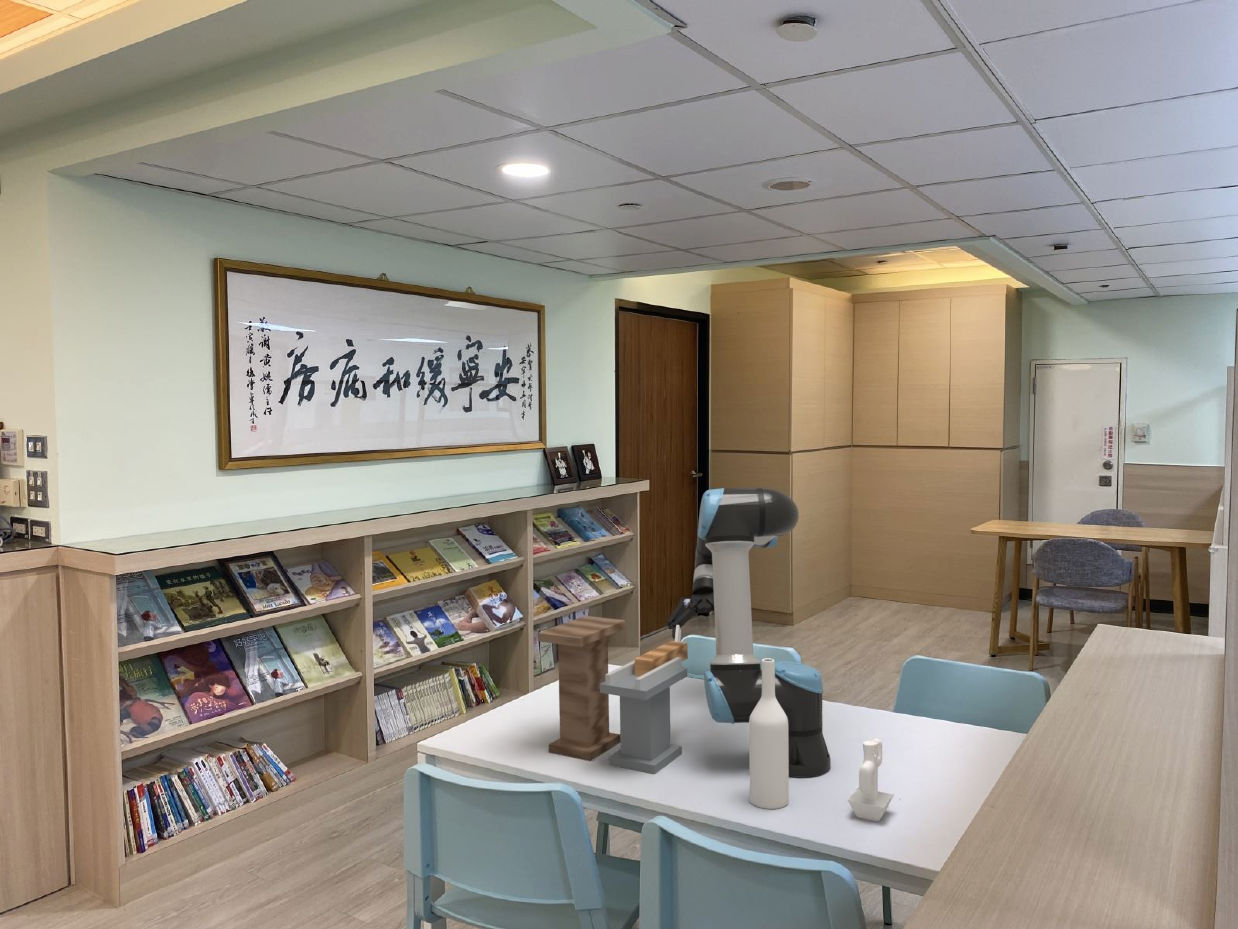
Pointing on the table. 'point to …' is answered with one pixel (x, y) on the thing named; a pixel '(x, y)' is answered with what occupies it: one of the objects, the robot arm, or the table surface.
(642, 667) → the wooden grain block
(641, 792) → the table surface
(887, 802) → the figurine
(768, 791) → the bottle
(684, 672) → the cradle
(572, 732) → the tall stand
